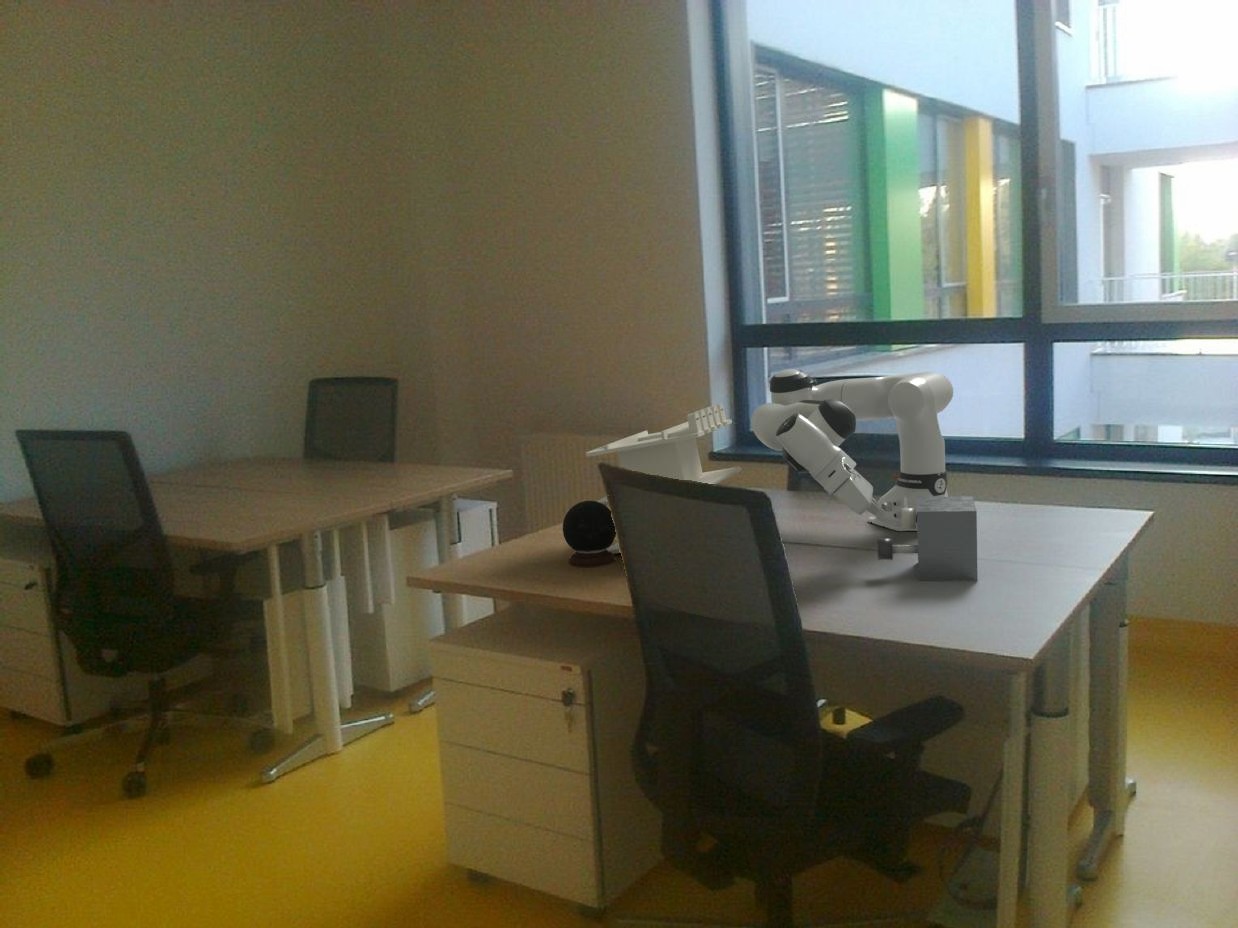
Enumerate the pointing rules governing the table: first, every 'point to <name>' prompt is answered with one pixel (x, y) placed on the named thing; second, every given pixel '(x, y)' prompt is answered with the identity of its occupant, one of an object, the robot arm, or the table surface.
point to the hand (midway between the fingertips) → (882, 516)
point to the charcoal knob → (893, 549)
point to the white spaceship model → (670, 451)
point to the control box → (947, 539)
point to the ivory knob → (909, 518)
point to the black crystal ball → (589, 534)
